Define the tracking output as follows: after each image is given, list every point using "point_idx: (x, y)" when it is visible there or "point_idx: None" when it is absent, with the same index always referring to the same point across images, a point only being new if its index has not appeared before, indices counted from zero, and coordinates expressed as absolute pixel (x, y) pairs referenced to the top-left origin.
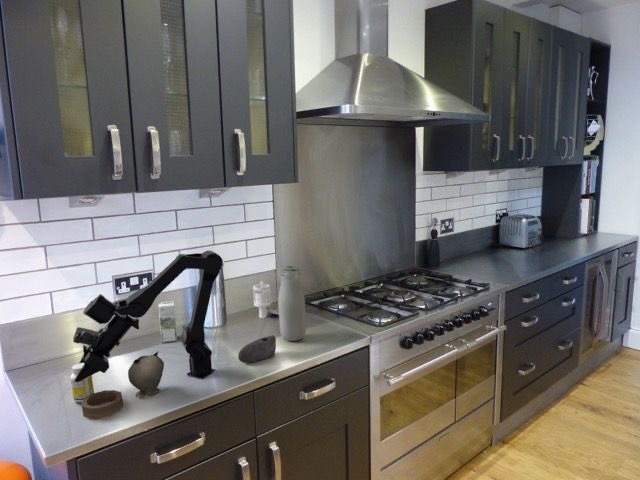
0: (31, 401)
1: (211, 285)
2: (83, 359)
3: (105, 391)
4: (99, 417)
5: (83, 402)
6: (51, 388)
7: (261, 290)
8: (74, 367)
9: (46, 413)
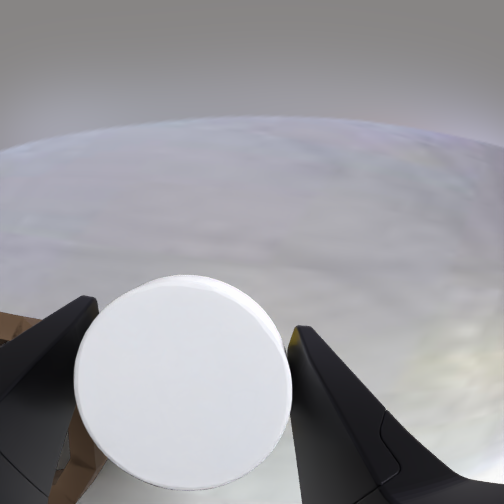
0: (332, 142)
1: None
2: (350, 463)
3: (80, 467)
4: None
5: (11, 324)
6: (422, 228)
7: None
8: (162, 313)
9: (157, 174)
